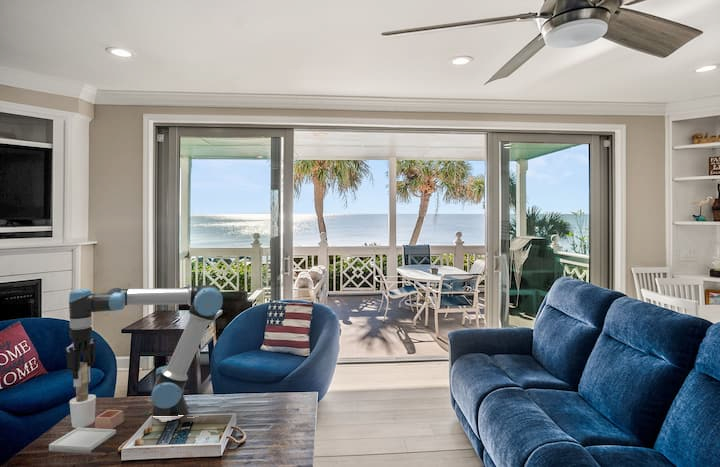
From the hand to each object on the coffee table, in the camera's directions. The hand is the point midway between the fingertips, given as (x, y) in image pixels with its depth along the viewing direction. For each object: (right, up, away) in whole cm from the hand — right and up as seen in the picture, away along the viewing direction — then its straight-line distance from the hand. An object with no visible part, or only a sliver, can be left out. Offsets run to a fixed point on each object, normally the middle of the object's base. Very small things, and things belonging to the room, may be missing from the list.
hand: (82, 384), depth 165 cm
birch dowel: (0, -7, 0) cm, 7 cm away
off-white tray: (0, -24, 0) cm, 24 cm away
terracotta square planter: (+3, -24, +13) cm, 28 cm away
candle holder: (-10, -25, +15) cm, 31 cm away
